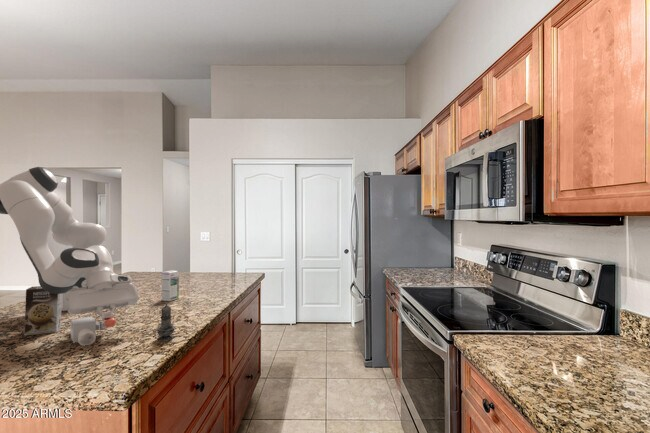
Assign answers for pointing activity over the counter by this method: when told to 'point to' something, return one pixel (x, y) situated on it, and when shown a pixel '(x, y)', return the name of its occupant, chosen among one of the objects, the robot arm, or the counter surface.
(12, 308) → the counter surface
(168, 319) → the grey chess pawn
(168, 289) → the syrup box
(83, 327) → the valve
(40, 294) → the cookie box
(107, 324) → the lever
